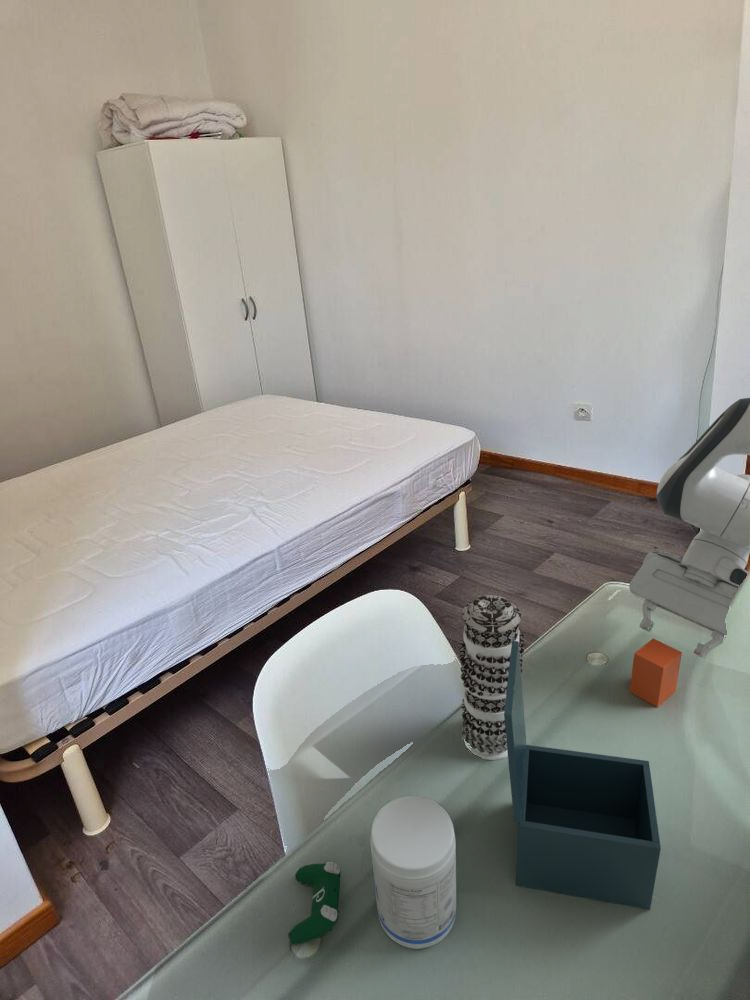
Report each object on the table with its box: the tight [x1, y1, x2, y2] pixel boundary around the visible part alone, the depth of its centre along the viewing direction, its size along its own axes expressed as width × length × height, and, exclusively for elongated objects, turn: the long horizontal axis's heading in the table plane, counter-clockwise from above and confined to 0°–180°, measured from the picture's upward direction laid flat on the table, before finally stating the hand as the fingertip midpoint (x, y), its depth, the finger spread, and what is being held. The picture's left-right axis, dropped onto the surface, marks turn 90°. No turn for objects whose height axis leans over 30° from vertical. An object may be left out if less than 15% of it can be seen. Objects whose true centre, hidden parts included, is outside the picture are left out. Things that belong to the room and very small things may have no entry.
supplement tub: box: [369, 795, 457, 950], centre depth 79 cm, size 10×10×15 cm
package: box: [629, 638, 683, 708], centre depth 111 cm, size 5×6×8 cm
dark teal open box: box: [514, 744, 662, 911], centre depth 86 cm, size 16×13×11 cm
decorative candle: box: [458, 594, 525, 761], centre depth 100 cm, size 9×9×25 cm
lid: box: [504, 641, 527, 824], centre depth 82 cm, size 16×13×1 cm
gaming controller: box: [287, 861, 342, 945], centre depth 83 cm, size 9×4×6 cm
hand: (670, 642), depth 111 cm, fingers open, 8 cm apart
